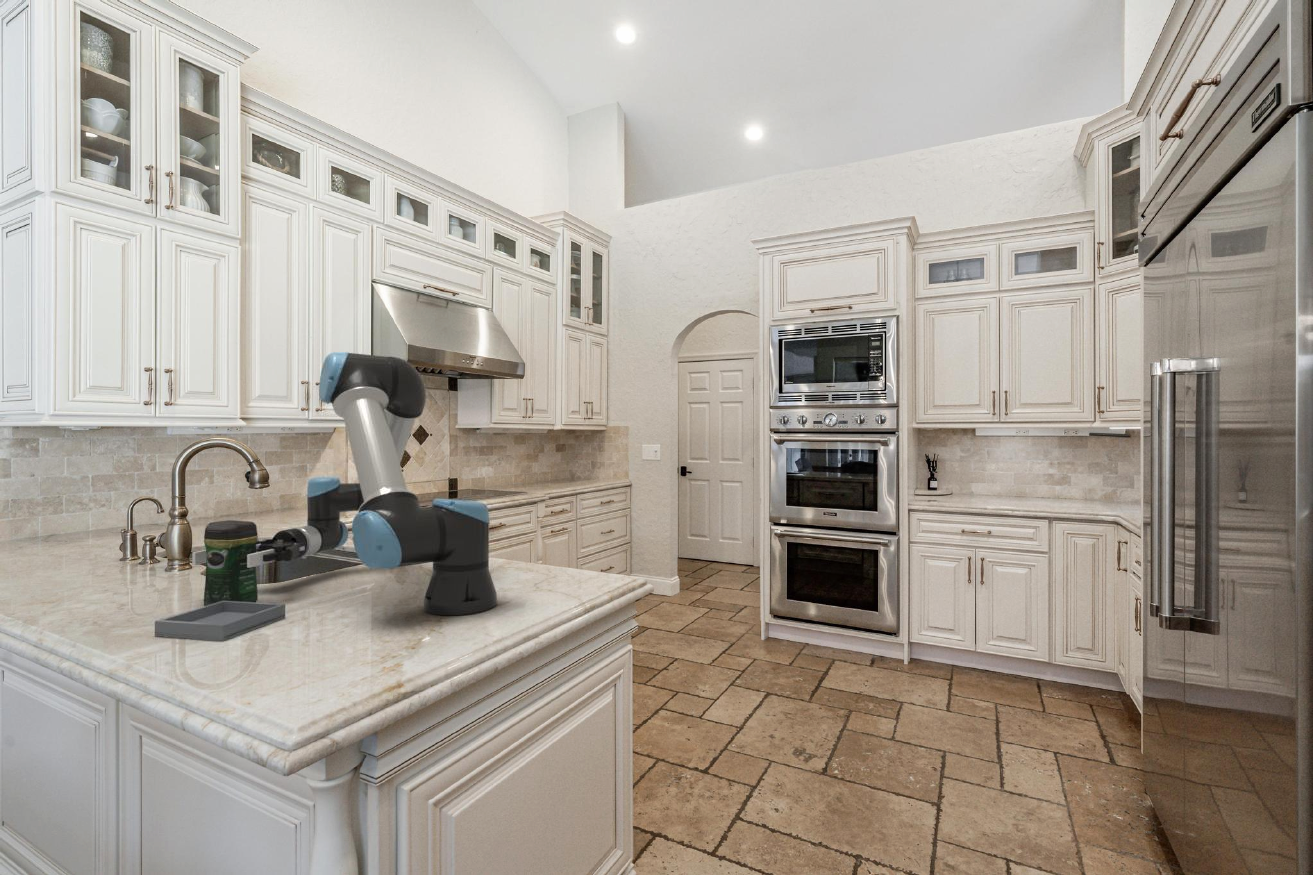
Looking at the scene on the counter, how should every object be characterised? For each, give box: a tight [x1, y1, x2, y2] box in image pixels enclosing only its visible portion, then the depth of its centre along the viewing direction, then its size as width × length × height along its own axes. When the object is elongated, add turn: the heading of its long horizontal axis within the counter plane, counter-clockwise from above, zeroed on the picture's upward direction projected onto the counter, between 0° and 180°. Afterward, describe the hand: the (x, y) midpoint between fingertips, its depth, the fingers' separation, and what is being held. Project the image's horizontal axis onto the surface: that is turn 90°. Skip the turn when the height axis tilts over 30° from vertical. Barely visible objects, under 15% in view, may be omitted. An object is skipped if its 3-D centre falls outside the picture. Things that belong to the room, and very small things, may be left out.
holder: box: [154, 601, 286, 642], centre depth 120 cm, size 15×15×3 cm
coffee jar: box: [203, 519, 259, 607], centre depth 135 cm, size 10×8×19 cm
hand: (220, 559), depth 132 cm, fingers open, 13 cm apart
